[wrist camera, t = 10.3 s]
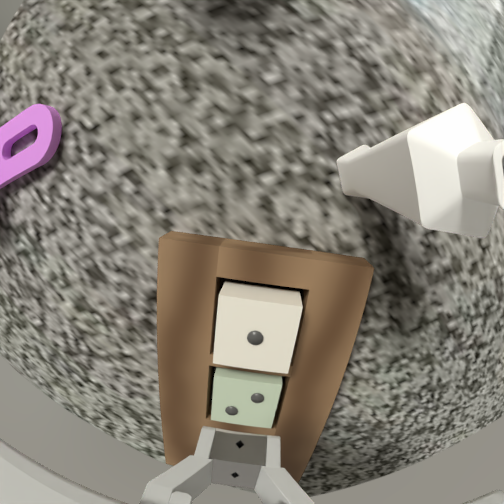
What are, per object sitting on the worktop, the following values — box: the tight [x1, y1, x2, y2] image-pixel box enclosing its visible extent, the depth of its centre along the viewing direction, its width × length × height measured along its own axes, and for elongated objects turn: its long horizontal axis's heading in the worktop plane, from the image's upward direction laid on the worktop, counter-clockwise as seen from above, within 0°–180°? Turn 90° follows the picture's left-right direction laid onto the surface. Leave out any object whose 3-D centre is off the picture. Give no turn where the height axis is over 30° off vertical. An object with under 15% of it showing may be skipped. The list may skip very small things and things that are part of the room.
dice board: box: [157, 231, 374, 483], centre depth 23 cm, size 14×24×2 cm, turn 173°
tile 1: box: [213, 281, 303, 374], centre depth 19 cm, size 5×5×3 cm
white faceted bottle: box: [337, 103, 504, 238], centre depth 12 cm, size 5×4×15 cm
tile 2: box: [211, 367, 282, 428], centre depth 22 cm, size 5×5×3 cm
